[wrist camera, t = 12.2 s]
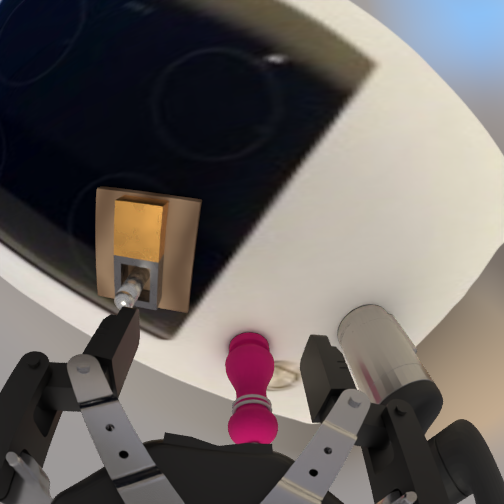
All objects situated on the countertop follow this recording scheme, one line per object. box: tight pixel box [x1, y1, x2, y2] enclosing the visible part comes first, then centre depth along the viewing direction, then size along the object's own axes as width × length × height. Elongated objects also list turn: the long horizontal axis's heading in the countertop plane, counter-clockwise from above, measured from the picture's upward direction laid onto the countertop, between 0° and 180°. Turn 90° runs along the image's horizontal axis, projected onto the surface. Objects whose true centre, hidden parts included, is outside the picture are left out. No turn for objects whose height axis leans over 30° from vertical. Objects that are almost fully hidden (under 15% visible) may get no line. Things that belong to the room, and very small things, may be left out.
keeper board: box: [96, 186, 202, 313], centre depth 38 cm, size 14×16×2 cm
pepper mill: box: [225, 332, 278, 444], centre depth 37 cm, size 7×7×20 cm
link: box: [114, 195, 169, 310], centre depth 36 cm, size 6×14×3 cm, turn 170°
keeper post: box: [114, 266, 150, 310], centre depth 35 cm, size 2×2×8 cm
